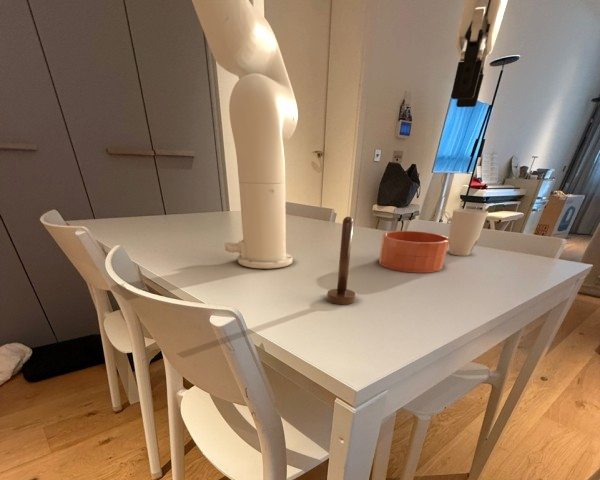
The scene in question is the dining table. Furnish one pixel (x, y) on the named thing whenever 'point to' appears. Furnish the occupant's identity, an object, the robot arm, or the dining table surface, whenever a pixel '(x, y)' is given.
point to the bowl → (413, 251)
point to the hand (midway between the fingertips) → (463, 102)
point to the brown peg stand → (343, 267)
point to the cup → (465, 230)
